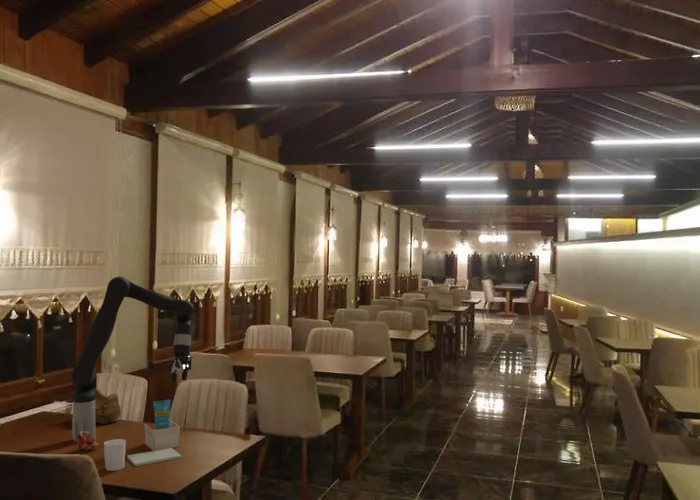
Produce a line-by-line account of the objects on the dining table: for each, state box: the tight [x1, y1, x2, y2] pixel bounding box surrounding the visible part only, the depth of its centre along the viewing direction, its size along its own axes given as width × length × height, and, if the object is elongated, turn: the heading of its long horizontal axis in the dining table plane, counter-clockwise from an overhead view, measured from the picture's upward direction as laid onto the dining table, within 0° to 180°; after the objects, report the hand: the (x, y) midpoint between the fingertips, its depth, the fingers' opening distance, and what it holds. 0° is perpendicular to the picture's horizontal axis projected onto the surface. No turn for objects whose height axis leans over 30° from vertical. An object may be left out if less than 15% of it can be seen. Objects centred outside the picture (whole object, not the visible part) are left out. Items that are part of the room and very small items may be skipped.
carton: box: [144, 419, 181, 451], centre depth 272 cm, size 12×14×8 cm
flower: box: [76, 431, 99, 452], centre depth 267 cm, size 10×9×8 cm
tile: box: [126, 448, 182, 467], centre depth 254 cm, size 18×13×1 cm
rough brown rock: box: [95, 389, 122, 425], centre depth 314 cm, size 23×17×15 cm
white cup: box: [103, 438, 127, 472], centre depth 242 cm, size 8×8×10 cm
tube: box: [152, 399, 172, 430], centre depth 273 cm, size 7×5×19 cm, turn 123°
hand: (178, 381), depth 283 cm, fingers open, 8 cm apart
